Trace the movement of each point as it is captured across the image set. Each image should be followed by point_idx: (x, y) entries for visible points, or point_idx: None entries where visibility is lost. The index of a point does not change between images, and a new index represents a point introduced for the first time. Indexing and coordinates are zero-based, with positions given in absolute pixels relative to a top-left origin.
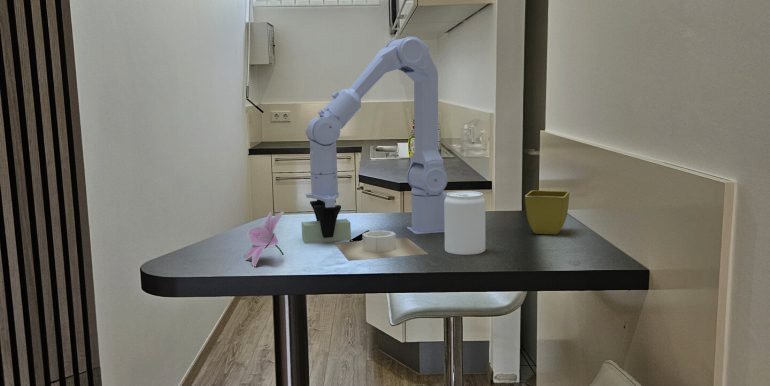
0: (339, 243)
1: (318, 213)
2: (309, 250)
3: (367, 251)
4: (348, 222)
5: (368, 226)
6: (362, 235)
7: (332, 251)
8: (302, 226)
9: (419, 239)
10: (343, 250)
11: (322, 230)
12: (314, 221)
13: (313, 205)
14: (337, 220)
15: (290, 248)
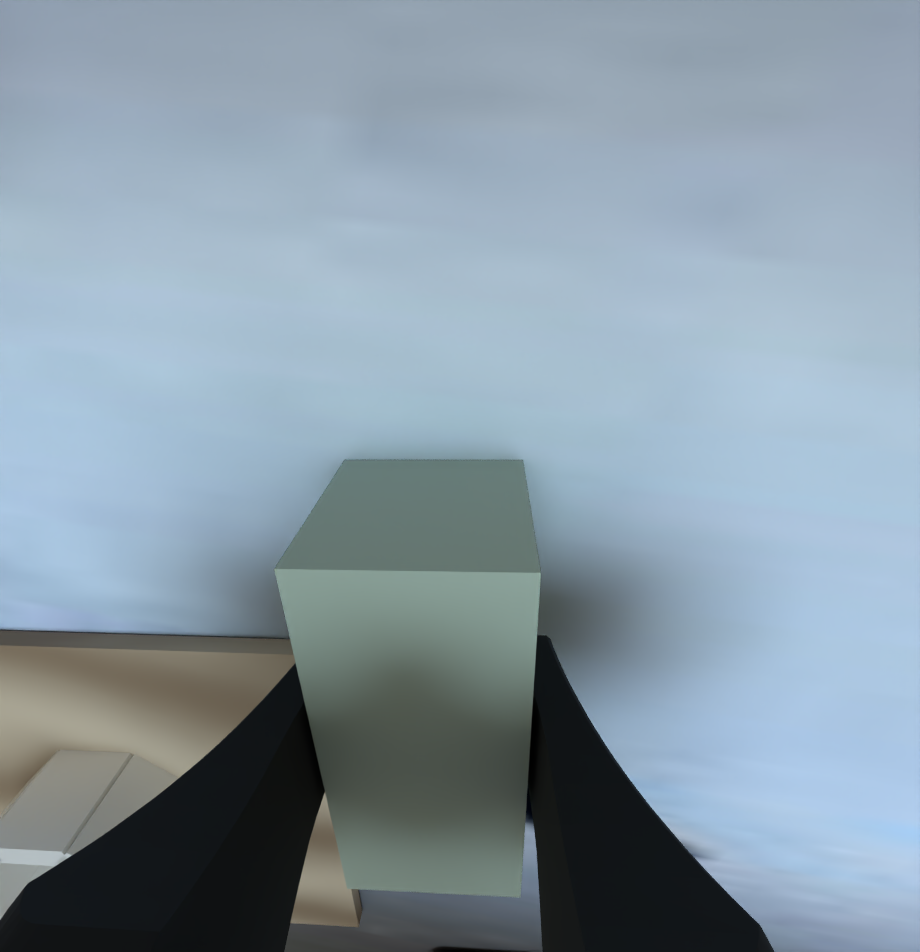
0: (278, 678)
1: (81, 849)
2: (185, 470)
3: (44, 753)
4: (350, 880)
5: (806, 875)
6: (67, 838)
7: (142, 603)
8: (461, 545)
9: (366, 940)
10: (65, 662)
11: (288, 674)
12: (508, 694)
13: (572, 931)
14: (471, 844)
15: (283, 324)
